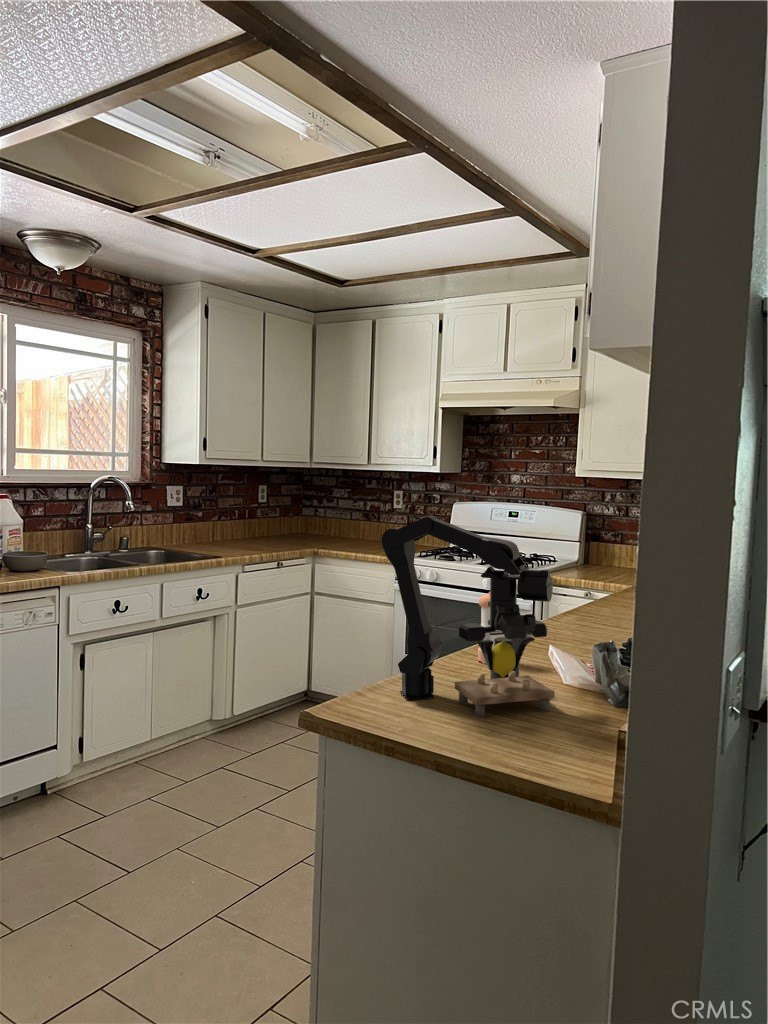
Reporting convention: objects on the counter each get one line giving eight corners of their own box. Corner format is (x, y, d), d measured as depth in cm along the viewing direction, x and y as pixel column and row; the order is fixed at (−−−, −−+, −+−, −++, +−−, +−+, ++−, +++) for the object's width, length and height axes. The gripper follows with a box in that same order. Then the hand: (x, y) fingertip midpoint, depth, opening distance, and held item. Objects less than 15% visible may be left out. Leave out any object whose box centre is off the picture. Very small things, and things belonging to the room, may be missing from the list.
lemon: (498, 672, 173) (498, 637, 173) (520, 676, 169) (520, 640, 169) (485, 677, 169) (485, 641, 168) (507, 682, 165) (507, 645, 165)
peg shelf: (476, 719, 161) (476, 688, 161) (454, 701, 173) (454, 673, 173) (554, 711, 165) (554, 682, 165) (528, 694, 178) (528, 667, 178)
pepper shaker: (504, 658, 213) (504, 589, 212) (505, 665, 205) (505, 594, 204) (477, 658, 213) (477, 589, 212) (478, 664, 206) (478, 593, 205)
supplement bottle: (497, 683, 188) (497, 634, 188) (523, 687, 185) (523, 637, 184) (485, 690, 182) (485, 640, 182) (513, 694, 179) (513, 643, 178)
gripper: (477, 607, 158) (476, 681, 159) (559, 602, 163) (558, 675, 164) (458, 598, 169) (458, 668, 170) (536, 594, 173) (535, 662, 174)
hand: (502, 669), depth 169 cm, fingers closed on lemon, 5 cm apart
